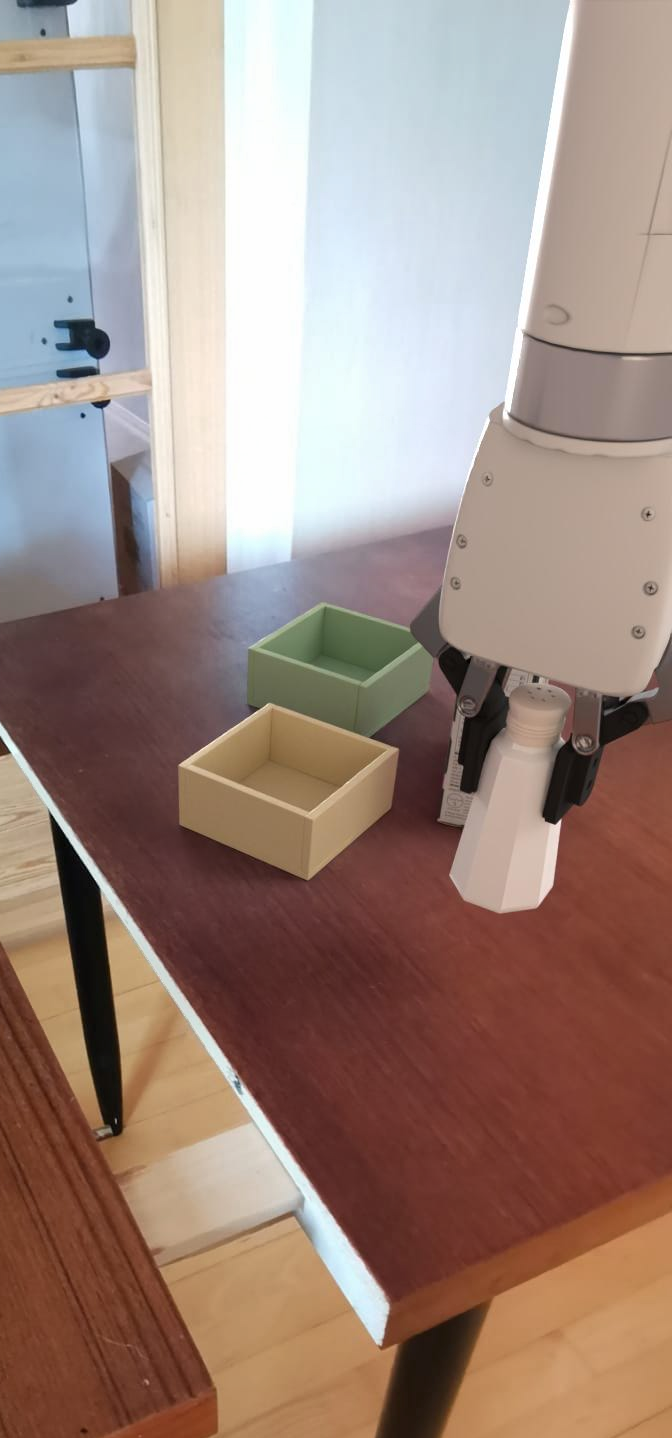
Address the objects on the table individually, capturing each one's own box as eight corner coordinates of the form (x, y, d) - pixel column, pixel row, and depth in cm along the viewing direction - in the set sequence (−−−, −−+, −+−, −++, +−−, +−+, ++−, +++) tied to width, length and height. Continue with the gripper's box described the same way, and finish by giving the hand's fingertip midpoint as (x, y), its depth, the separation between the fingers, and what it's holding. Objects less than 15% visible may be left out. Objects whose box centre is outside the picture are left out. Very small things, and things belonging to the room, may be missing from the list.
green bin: (428, 691, 85) (437, 635, 82) (360, 745, 79) (366, 687, 76) (318, 655, 90) (322, 601, 86) (246, 704, 84) (247, 648, 81)
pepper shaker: (499, 928, 56) (542, 736, 48) (427, 875, 59) (457, 687, 51) (573, 890, 58) (627, 700, 50) (500, 841, 61) (540, 655, 53)
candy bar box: (464, 743, 79) (507, 508, 68) (534, 756, 78) (590, 518, 67) (429, 824, 72) (471, 575, 61) (506, 840, 71) (563, 588, 59)
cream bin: (391, 808, 73) (399, 748, 70) (308, 881, 68) (312, 819, 64) (267, 760, 78) (269, 702, 75) (179, 825, 72) (177, 765, 69)
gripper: (868, 395, 40) (711, 816, 53) (459, 332, 47) (410, 715, 60) (806, 453, 36) (653, 894, 49) (369, 374, 43) (337, 776, 56)
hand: (519, 792), depth 54 cm, fingers closed on pepper shaker, 3 cm apart
